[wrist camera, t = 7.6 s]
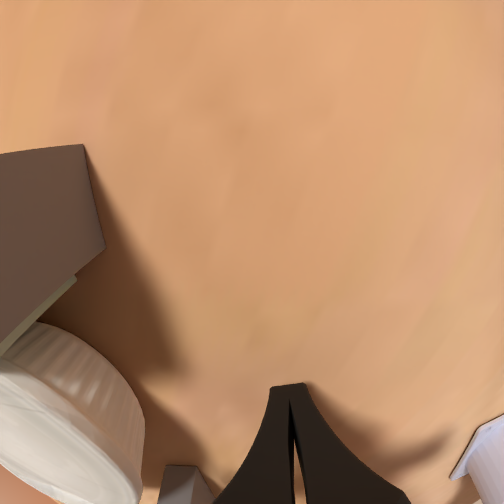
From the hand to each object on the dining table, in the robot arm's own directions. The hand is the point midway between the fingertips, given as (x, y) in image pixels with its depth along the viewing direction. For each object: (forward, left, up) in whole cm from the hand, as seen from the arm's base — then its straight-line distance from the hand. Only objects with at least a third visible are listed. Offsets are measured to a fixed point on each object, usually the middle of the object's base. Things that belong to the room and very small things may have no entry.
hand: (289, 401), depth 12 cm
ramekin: (+12, 0, -2) cm, 12 cm away
